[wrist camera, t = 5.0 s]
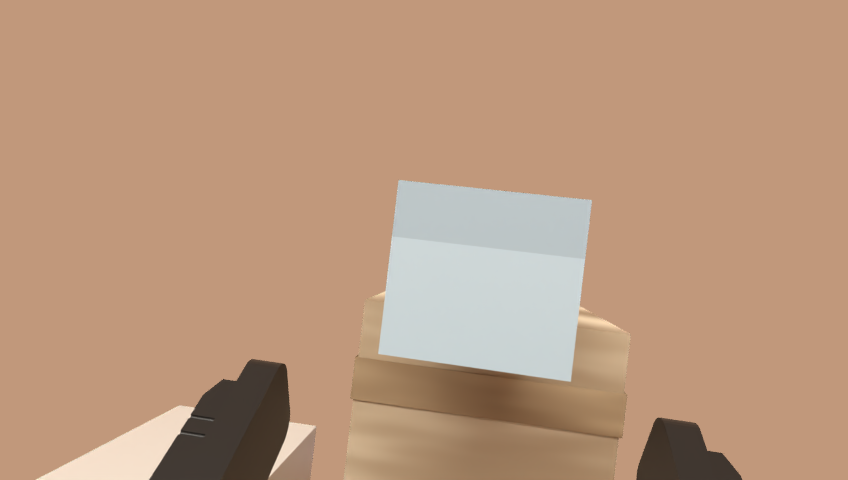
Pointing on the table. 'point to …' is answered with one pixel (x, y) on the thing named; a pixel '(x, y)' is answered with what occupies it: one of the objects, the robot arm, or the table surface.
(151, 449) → the block
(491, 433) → the tall brown wood-grain block
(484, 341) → the pale blue-grey block
